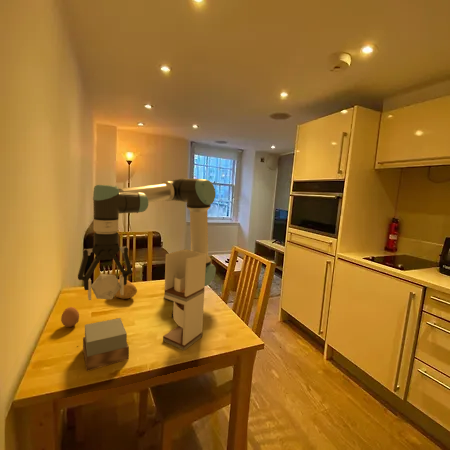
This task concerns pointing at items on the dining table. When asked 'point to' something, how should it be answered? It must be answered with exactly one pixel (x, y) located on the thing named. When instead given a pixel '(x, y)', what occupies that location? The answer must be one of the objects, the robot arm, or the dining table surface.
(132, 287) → the potato
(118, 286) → the die
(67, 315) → the egg
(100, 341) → the block
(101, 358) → the block
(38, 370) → the dining table surface
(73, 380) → the dining table surface
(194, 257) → the display case
